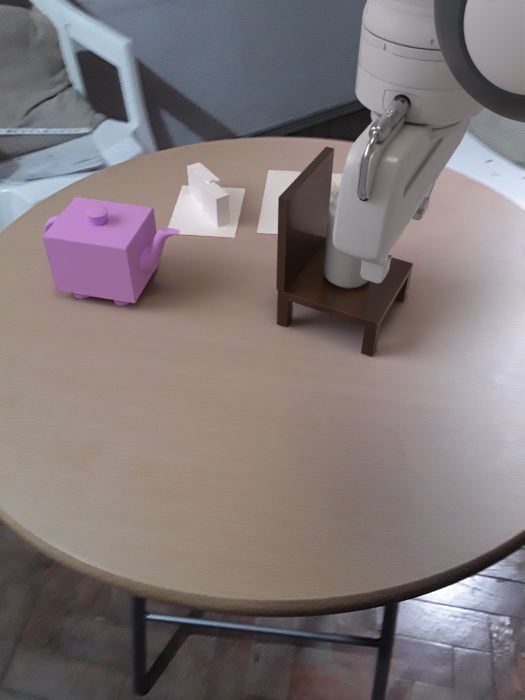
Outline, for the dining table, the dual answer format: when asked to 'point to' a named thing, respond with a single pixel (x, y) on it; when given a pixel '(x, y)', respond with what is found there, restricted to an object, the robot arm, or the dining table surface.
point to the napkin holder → (206, 205)
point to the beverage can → (340, 258)
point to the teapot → (104, 249)
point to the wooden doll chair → (309, 254)
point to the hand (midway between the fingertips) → (395, 243)
